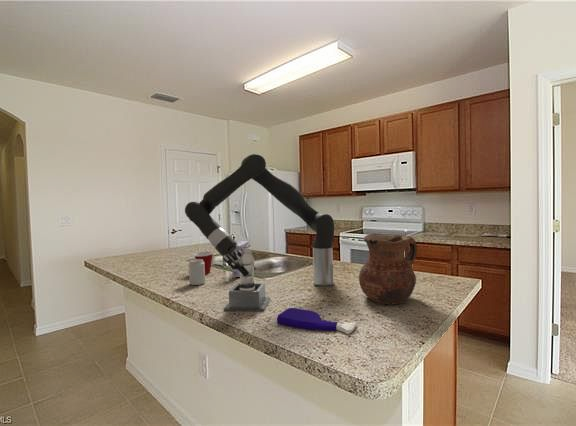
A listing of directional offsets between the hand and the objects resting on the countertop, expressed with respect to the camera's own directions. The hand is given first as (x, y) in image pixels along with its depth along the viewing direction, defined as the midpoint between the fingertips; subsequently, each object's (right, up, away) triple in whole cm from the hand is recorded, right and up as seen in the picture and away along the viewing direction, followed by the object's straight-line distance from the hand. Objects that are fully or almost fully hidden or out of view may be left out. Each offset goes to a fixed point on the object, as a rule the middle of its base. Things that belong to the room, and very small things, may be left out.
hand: (250, 272), depth 116 cm
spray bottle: (+23, -14, -19) cm, 33 cm away
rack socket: (-1, -13, +1) cm, 13 cm away
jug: (+54, -11, +4) cm, 55 cm away
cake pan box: (-11, -11, +51) cm, 54 cm away
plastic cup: (-33, -12, +55) cm, 65 cm away
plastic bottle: (-1, -11, +1) cm, 11 cm away
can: (-31, -12, +34) cm, 47 cm away
